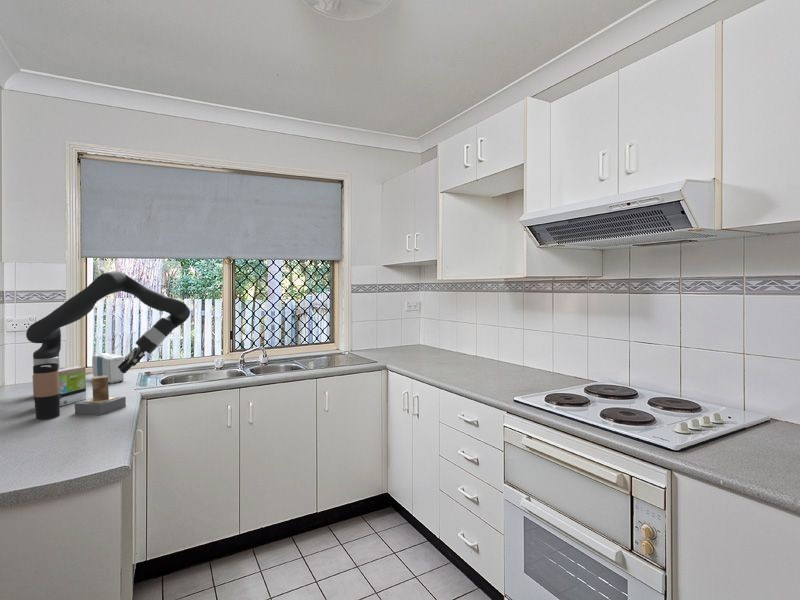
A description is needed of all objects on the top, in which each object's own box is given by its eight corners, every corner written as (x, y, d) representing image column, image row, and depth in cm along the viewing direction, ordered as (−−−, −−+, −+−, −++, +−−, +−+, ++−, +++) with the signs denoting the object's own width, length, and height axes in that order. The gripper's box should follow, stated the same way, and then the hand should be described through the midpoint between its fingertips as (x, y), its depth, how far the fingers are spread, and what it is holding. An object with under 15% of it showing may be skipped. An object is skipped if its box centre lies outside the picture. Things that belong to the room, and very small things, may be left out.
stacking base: (75, 413, 175) (74, 402, 175) (101, 404, 187) (100, 394, 187) (100, 415, 173) (100, 404, 173) (125, 406, 184) (125, 396, 184)
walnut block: (93, 401, 176) (92, 378, 176) (92, 398, 180) (92, 376, 180) (108, 399, 179) (107, 377, 179) (107, 396, 183) (106, 375, 183)
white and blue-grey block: (92, 379, 235) (90, 341, 234) (109, 376, 242) (108, 339, 241) (108, 384, 223) (106, 344, 222) (126, 381, 229) (124, 342, 228)
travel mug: (39, 415, 173) (37, 364, 172) (63, 413, 176) (61, 362, 175) (31, 421, 166) (28, 367, 165) (56, 418, 169) (54, 366, 168)
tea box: (54, 409, 182) (52, 373, 181) (34, 407, 184) (32, 372, 183) (87, 399, 196) (85, 365, 196) (68, 398, 198) (66, 365, 198)
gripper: (141, 332, 194) (110, 362, 187) (146, 335, 182) (114, 367, 176) (155, 343, 197) (126, 373, 191) (161, 347, 186) (130, 378, 179)
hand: (120, 370), depth 183 cm, fingers open, 8 cm apart
